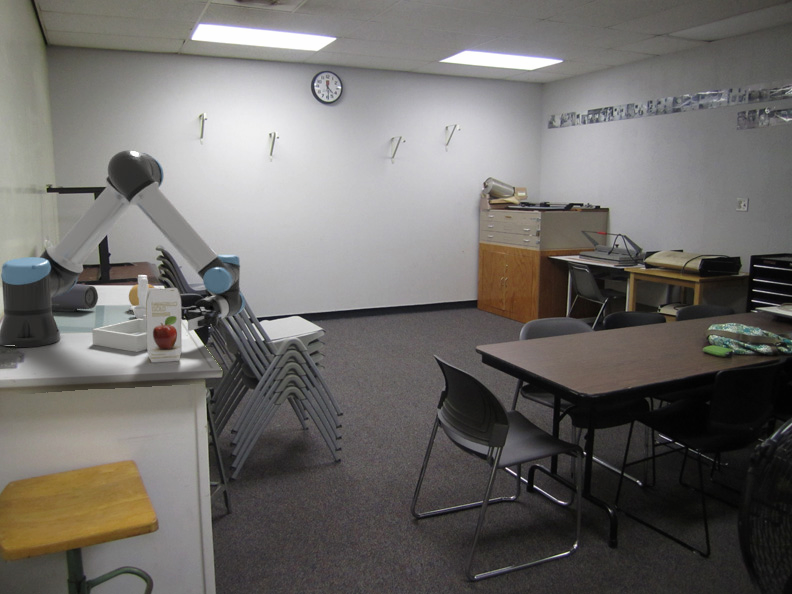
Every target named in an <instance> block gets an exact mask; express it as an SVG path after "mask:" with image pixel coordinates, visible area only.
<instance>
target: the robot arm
mask: <svg viewBox="0 0 792 594" xmlns="http://www.w3.org/2000/svg"><path fill="white" fill-rule="evenodd" d="M107 175H108V176H107V177H106V178H105V183H106V184H105V185H106V187H105V188H104V189H103V191H101V193H100V194H99V195H98V197H97V198H96V199H95V200H94V201H93V202H92V204H91V205H89V207H88V208H87V209H86V210H85V212H84V213H83V214H82V215H81V217H80V218H79V219H78V220H77V221H76V222H75V224H73V225H72V227H70V229H69V230H68V232H67V233H66V234H65V235H64V236H63V238H62V239H61V240H60V241H59V242H58V243H57V244H56V245H52V246H48V247H47V248H45V250H44V251H43V252H42V253H41V255H40V256H38V257H35V256H32V257H31V256H29V257H20V258H13V259H9V260H6V261H5V262H4V263H3V264H2V266H1V275H0V279H1V284H2V285H1V287H2V289H1V290H2V299H3V300H2V301H3V318H2V322H1V325H0V346H2V347H5V346H4V345H15V346H17V347H16V348H33V347H41V346H47V345H51V344H54V343H57V342H59V341H60V340H61V332H60V329H59V328H58V325H57V322H56V320H55V318H54V315H53V310H52V300H51V298H53V297H55V296H60V295H63V294H65V293H67V292H68V291H70V290H71V289H72V288H73V287H74V286H75V284H77V282H78V278H79V276H80V275H81V273H82V272H84V266H83V263H84V262H85V261H86V260H87V258H88V257H89V256H90V255H91V254H92V253H93V251H95V249H96V248H97V247H98V246H99V244H100V243H101V242H102V241H103V240H104V239H105V237H106V236H107V235H108V234H109V233H110V231H112V230H113V228H114V227H115V226H116V224H117V223H118V222H119V221H120V220H121V219H122V218H123V216H124V215H125V214H126V213H127V212H128V211H129V210H130V209H131V207H132V206H137V207H138V208H139V209H140V211H141V212H142V213H143V214H144V215H145V216H146V217H147V218H148V219H149V221H150V222H151V223H152V224H153V225H154V226H155V227H156V229H157V230H158V231H159V232H160V234H162V236H163V237H164V238H166V240H167V241H168V243H170V244H171V246H173V248H174V249H175V250H176V251H177V252H178V253H179V255H180V256H181V257H182V258H183V259H184V260H185V261H186V262H187V263H188V264H189V265H190V267H192V269H193V270H194V271H195V272H196V274H197V275H198V276H199V277H200V278H201V279H202V282H203V285H204V288H205V289H206V290H207V291H208V292H210V293H212V294H214V295H212V296H208V297H205V298H201V299H198V300H197V301H196V302H195V303H194V304H193V305H191V306H187V307H184V305H183V306H182V305H181V321H187V331H189V332H191V331H194V330H197V329H200V328H203V327H205V326H206V327H209V326H210V325H211V326H212V327H216V326H218V323H219V321H220V320H223V319H226V318H229V317H233V316H234V317H235V316H236V315H237V314H239V313H241V312H242V311H243V310H244V309H245V307H246V299H245V296H244V295H243V294H242V292H240V277H241V276H240V274H241V273H240V271H241V270H240V269H241V264H240V261H241V260H240V257H239V256H238V255H235V254H218V255H217V254H216V253H215V252H214V251H213V249H212V248H211V246H209V245H208V244H207V242H206V241H205V240H204V239H203V238H202V237H201V235H199V233H198V232H197V231H196V230H195V228H193V226H192V225H191V224H190V223H189V222H188V221H187V219H186V218H185V216H183V214H181V213H180V211H179V210H178V209H177V208H176V207H175V206H174V205H173V203H171V201H170V200H169V199H168V197H167V196H166V195H165V194H164V193H163V192H162V191H161V189H159V188H160V187H161V185H162V183H163V181H164V178H165V177H164V169H163V167H162V165H161V163H160V162H159V161H158V160H157V159H156V158H155V157H153V156H152V155H151V154H148V153H146V152H138V151H134V150H122V151H119V152H116V153H115V154H114V155H113V156H112V157H111V159H110V160H109V163H108V164H107ZM143 325H145V326H146V315H143Z"/></svg>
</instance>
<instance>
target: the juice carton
mask: <svg viewBox="0 0 792 594" xmlns="http://www.w3.org/2000/svg"><path fill="white" fill-rule="evenodd" d="M181 306H182V297H181V293H180V291H179V289H178V288H177V287H167V288H158V287H157V288H156V287H155V288H149V289H148V291H147V296H146V331H147V349H146V350H147V353H148V354H147V355H148V357H149V360H150V362H151V363H166V362H167V363H168V362H179V361H180V358H181V354H182V346H183V344H182V341H183V340H182V339H183V338H182V336H183V335H182V319H181Z"/></svg>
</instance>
